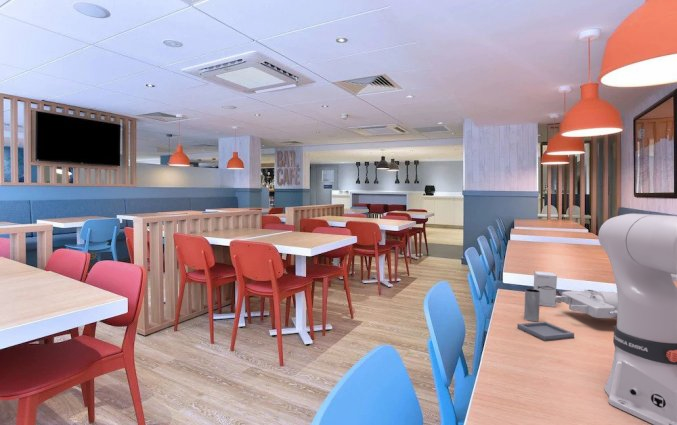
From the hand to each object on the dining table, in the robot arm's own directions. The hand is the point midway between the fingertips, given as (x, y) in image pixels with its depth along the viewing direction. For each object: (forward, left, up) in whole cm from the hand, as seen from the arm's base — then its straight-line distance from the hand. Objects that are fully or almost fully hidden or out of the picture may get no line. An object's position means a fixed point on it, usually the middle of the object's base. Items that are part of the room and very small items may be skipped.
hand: (562, 303), depth 128 cm
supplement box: (+18, -10, -6) cm, 21 cm away
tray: (-9, +16, -6) cm, 19 cm away
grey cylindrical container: (+3, +10, -6) cm, 12 cm away
